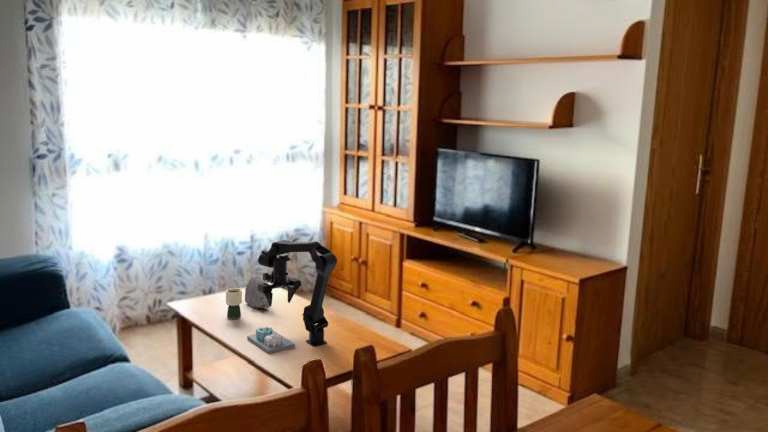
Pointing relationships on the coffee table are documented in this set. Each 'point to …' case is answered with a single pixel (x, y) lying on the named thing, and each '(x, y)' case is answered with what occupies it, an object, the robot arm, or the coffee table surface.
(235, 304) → the character mug
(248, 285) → the decorative rock
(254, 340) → the gear board
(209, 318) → the coffee table surface
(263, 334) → the teal gear
